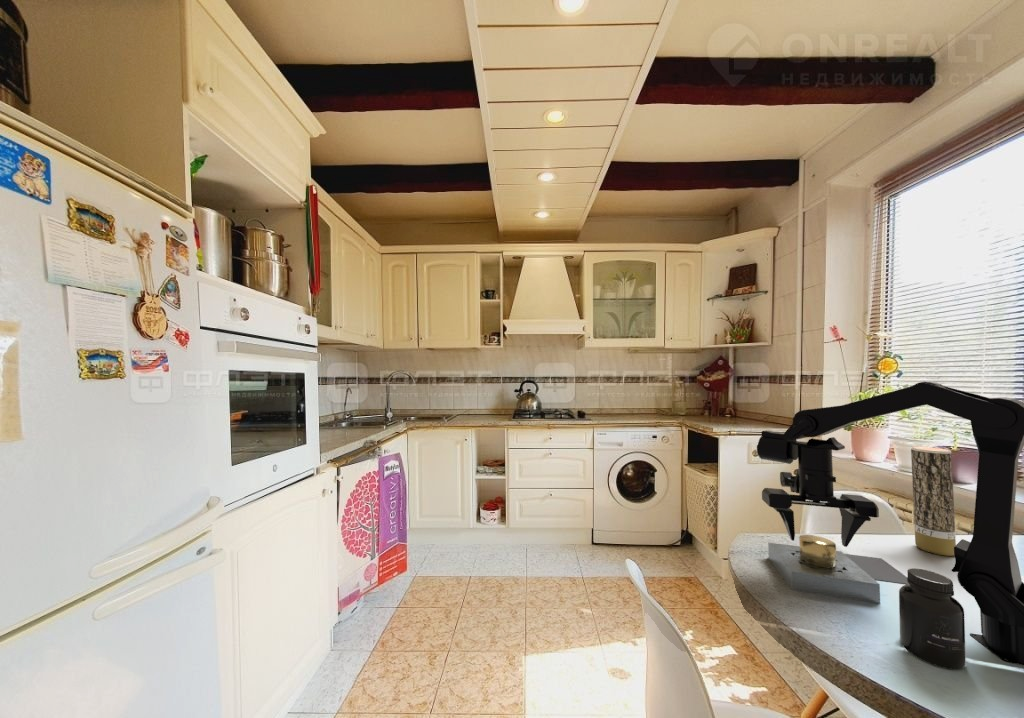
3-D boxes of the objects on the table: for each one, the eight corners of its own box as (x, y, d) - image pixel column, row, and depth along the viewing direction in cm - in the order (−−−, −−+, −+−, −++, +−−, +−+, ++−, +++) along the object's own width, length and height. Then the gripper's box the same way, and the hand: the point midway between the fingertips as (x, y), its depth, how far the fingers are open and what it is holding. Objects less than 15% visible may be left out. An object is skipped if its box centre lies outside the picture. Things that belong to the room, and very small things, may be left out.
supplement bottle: (948, 676, 54) (944, 590, 55) (889, 643, 61) (886, 567, 61) (978, 666, 56) (974, 583, 56) (918, 636, 62) (915, 562, 63)
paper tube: (941, 546, 96) (936, 447, 97) (965, 558, 89) (959, 452, 90) (908, 543, 98) (903, 445, 99) (928, 555, 91) (924, 450, 92)
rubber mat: (918, 588, 77) (917, 585, 77) (857, 579, 80) (857, 576, 80) (881, 560, 88) (881, 558, 88) (829, 554, 91) (829, 551, 91)
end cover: (843, 588, 76) (841, 549, 76) (807, 582, 78) (806, 544, 78) (828, 573, 81) (827, 537, 82) (795, 568, 83) (794, 533, 84)
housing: (880, 606, 71) (879, 584, 71) (792, 592, 75) (791, 571, 75) (841, 569, 84) (841, 551, 84) (768, 559, 88) (768, 542, 88)
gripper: (848, 463, 85) (851, 533, 84) (753, 457, 91) (755, 523, 90) (878, 475, 75) (882, 556, 74) (769, 468, 80) (771, 542, 80)
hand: (817, 542), depth 80 cm, fingers open, 9 cm apart
